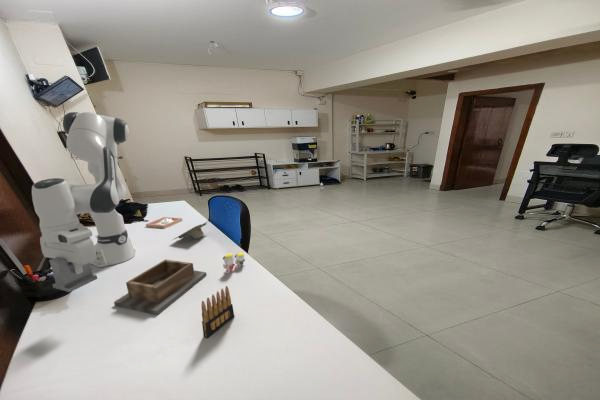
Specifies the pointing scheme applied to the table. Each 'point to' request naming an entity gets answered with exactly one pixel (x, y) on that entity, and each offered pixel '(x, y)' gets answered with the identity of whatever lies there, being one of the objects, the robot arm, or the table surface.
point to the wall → (193, 232)
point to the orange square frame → (154, 225)
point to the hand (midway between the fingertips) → (73, 271)
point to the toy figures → (229, 261)
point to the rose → (165, 221)
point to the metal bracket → (70, 275)
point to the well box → (159, 286)
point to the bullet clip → (216, 313)
